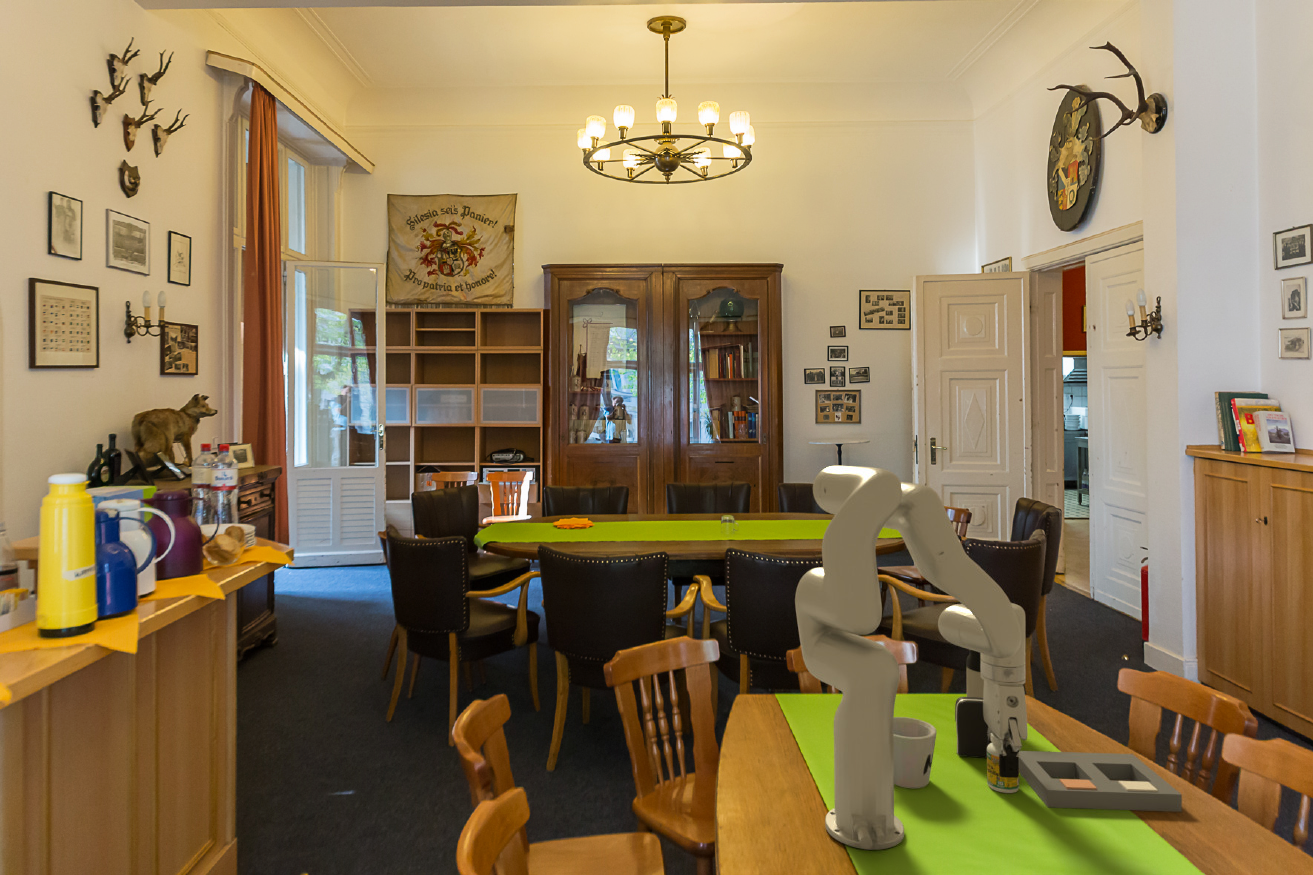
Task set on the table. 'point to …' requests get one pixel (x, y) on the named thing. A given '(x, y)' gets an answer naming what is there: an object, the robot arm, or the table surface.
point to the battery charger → (971, 727)
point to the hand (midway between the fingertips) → (1002, 768)
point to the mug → (912, 751)
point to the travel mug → (974, 675)
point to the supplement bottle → (993, 768)
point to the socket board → (1097, 781)
